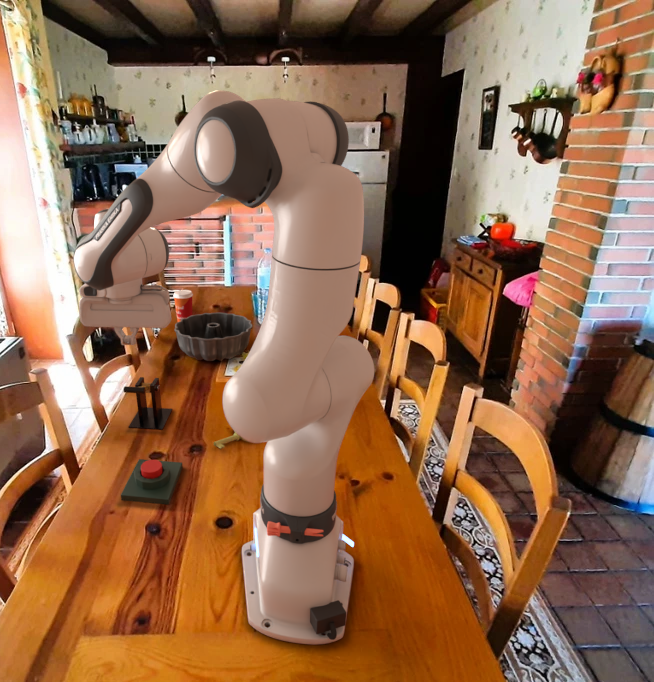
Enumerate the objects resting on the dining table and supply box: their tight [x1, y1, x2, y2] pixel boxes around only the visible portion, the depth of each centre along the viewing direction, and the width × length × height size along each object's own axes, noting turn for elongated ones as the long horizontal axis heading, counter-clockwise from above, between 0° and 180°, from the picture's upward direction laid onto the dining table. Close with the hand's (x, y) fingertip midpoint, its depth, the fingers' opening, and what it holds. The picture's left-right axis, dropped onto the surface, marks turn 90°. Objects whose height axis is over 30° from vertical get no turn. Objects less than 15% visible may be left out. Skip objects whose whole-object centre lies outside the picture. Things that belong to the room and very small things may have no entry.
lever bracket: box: [128, 376, 173, 431], centre depth 125 cm, size 10×9×12 cm
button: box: [141, 459, 163, 479], centre depth 101 cm, size 4×4×2 cm
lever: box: [122, 382, 152, 394], centre depth 118 cm, size 12×5×2 cm, turn 169°
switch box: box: [120, 458, 184, 506], centre depth 102 cm, size 12×10×4 cm
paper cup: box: [172, 289, 194, 323], centre depth 188 cm, size 8×8×14 cm
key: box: [213, 430, 250, 450], centre depth 116 cm, size 7×12×2 cm, turn 143°
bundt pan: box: [174, 312, 254, 362], centre depth 165 cm, size 26×26×10 cm
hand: (128, 344), depth 109 cm, fingers closed
